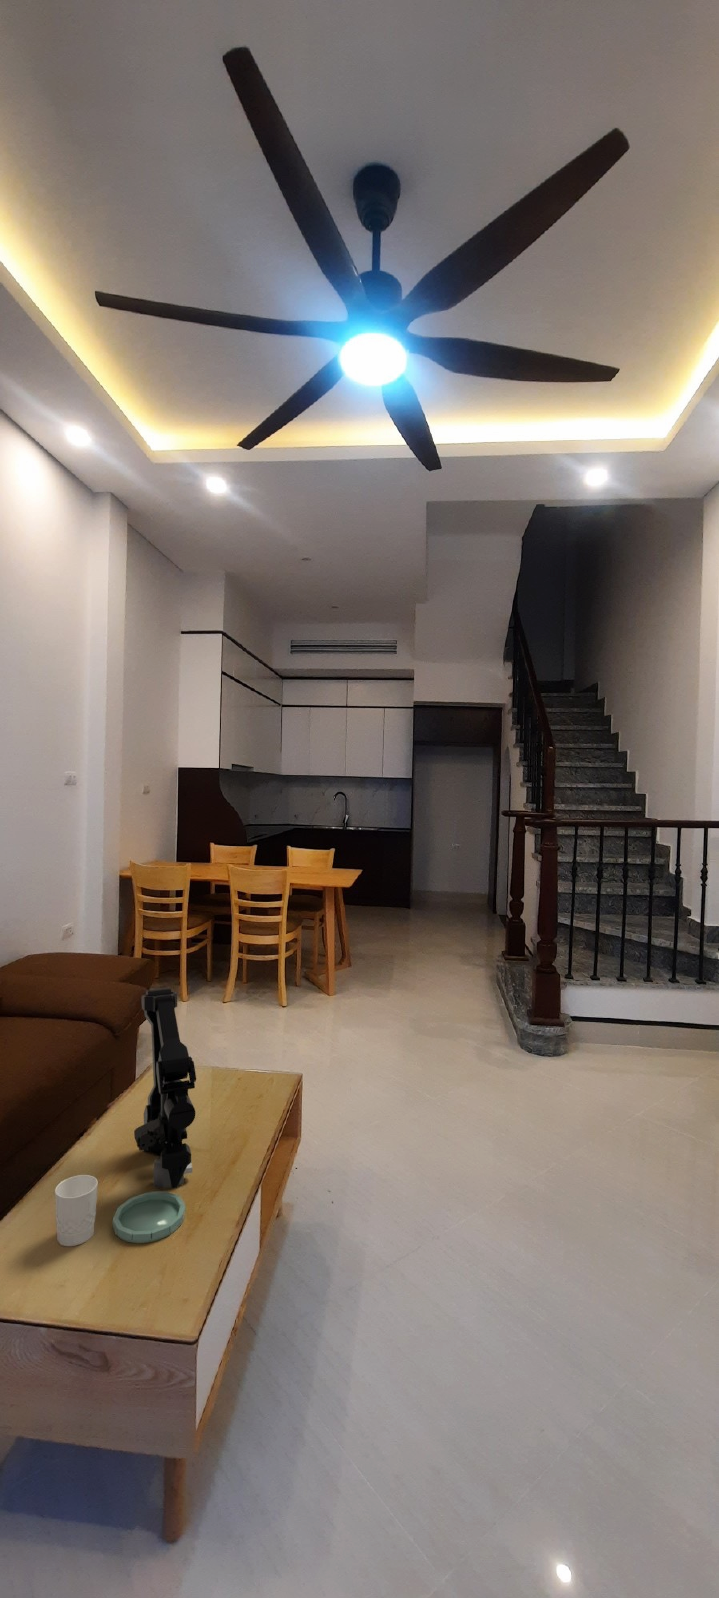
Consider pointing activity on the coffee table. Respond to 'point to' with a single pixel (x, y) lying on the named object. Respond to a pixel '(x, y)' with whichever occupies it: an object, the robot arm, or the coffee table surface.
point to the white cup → (75, 1209)
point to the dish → (149, 1217)
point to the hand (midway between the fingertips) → (172, 1176)
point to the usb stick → (165, 1175)
